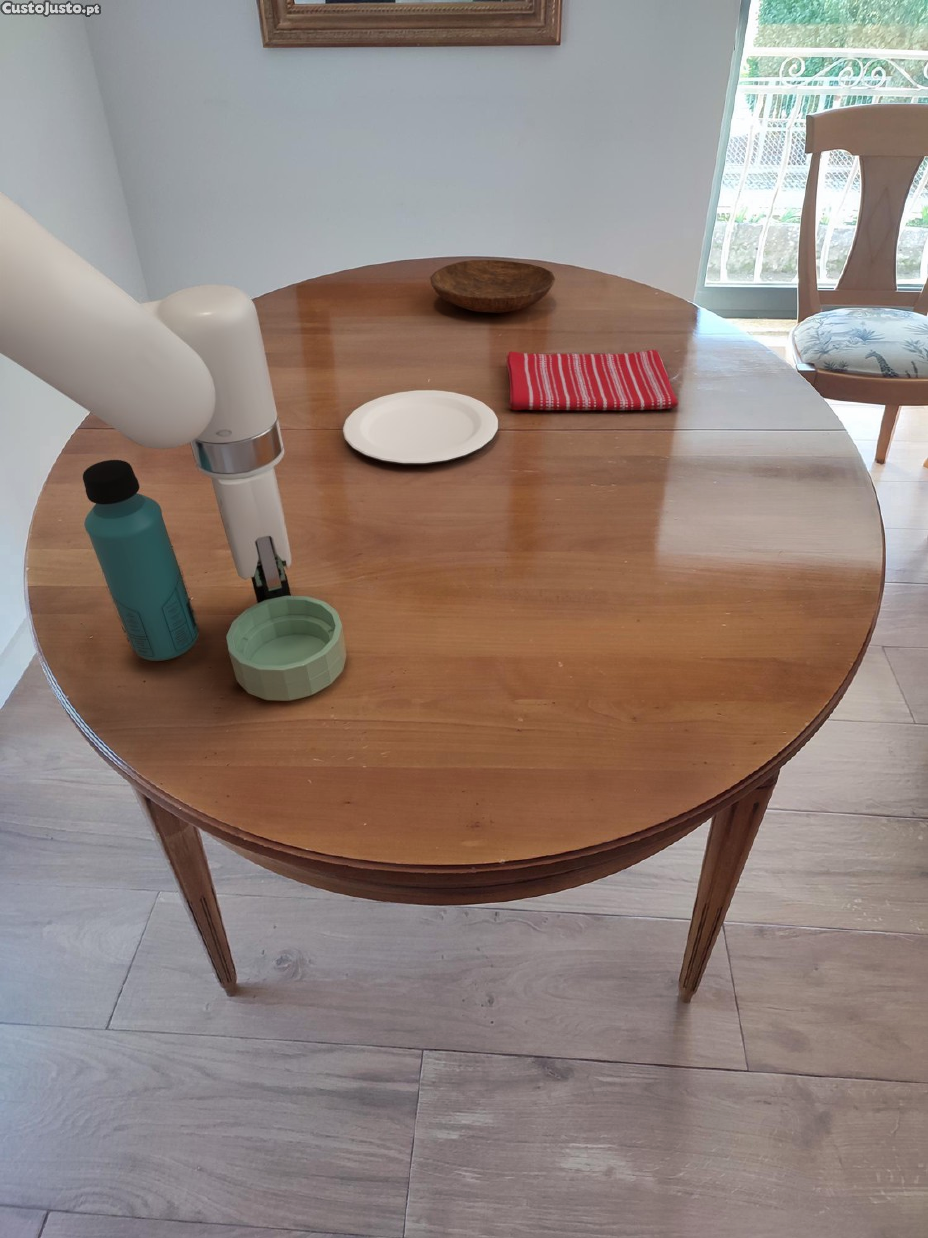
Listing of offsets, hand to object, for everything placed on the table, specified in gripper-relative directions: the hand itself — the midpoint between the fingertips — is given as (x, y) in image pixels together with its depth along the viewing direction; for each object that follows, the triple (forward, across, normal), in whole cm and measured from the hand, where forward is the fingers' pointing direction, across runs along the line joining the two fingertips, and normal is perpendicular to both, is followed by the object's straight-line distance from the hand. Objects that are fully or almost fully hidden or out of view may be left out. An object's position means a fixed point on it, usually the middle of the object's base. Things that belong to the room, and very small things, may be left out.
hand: (276, 607), depth 83 cm
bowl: (+3, -72, +53) cm, 90 cm away
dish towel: (+3, -35, +53) cm, 64 cm away
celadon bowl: (+2, +7, 0) cm, 7 cm away
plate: (+2, -31, +26) cm, 41 cm away
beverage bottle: (+2, +1, -11) cm, 11 cm away
